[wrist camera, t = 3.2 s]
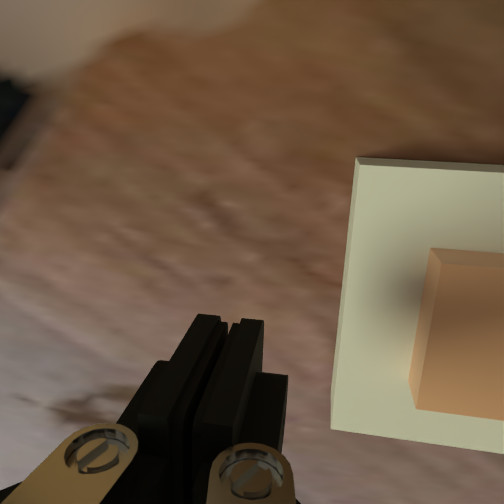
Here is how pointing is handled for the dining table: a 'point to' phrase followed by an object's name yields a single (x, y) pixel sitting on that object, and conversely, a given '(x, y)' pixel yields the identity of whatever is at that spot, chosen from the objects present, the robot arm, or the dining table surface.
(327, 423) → the dining table surface
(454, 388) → the tile
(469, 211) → the plate
